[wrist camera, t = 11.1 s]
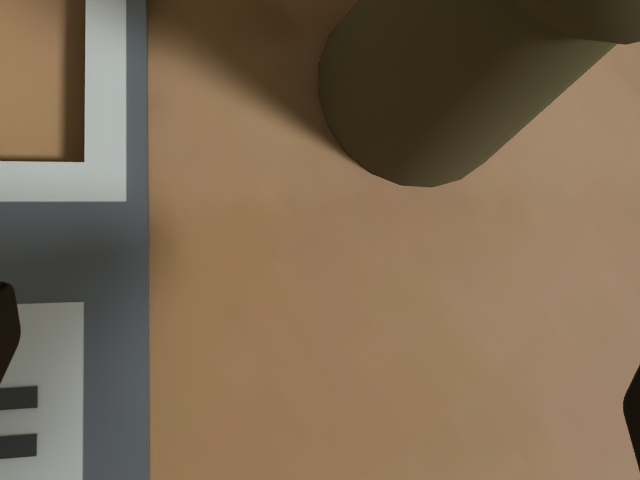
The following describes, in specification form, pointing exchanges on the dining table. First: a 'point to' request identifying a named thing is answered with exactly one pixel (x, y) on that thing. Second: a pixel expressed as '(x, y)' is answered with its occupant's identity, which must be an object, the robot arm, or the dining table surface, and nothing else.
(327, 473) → the dining table surface
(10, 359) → the robot arm
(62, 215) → the label plate
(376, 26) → the olive game pawn
